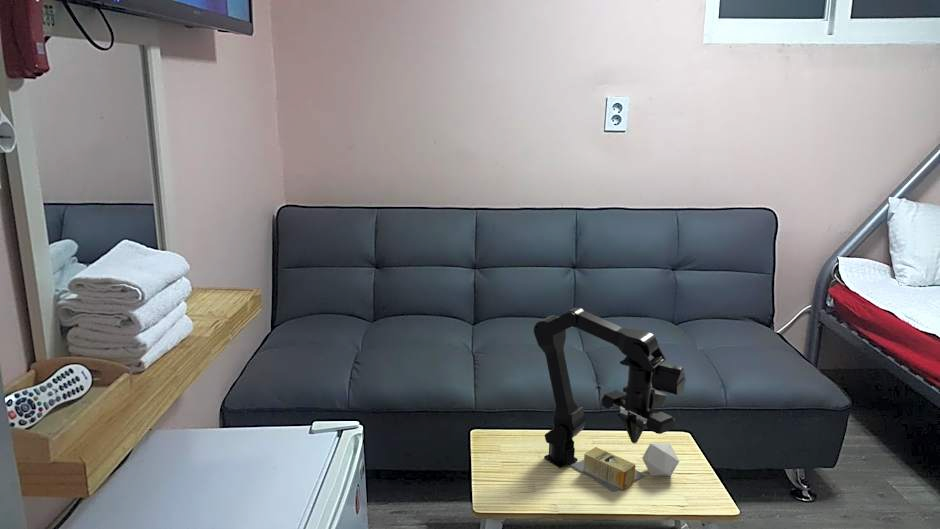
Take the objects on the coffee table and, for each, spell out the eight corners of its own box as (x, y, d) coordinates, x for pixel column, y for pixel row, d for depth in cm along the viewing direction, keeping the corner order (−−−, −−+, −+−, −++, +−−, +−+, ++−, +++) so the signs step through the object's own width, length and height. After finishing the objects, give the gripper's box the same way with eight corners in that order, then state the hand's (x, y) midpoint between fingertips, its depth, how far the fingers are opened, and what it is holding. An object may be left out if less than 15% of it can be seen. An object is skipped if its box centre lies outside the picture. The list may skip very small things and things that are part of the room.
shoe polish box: (635, 464, 177) (595, 446, 186) (624, 471, 174) (584, 453, 182) (634, 481, 179) (594, 463, 187) (623, 489, 175) (583, 470, 184)
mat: (571, 466, 186) (571, 465, 186) (603, 452, 193) (603, 451, 193) (612, 491, 175) (612, 490, 175) (645, 476, 182) (645, 475, 182)
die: (670, 488, 178) (689, 455, 179) (640, 470, 178) (660, 436, 179) (661, 481, 186) (679, 449, 187) (632, 464, 186) (651, 432, 187)
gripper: (692, 389, 168) (686, 449, 172) (631, 364, 183) (627, 419, 187) (661, 401, 162) (656, 463, 166) (601, 374, 176) (597, 430, 180)
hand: (634, 442), depth 175 cm, fingers closed
